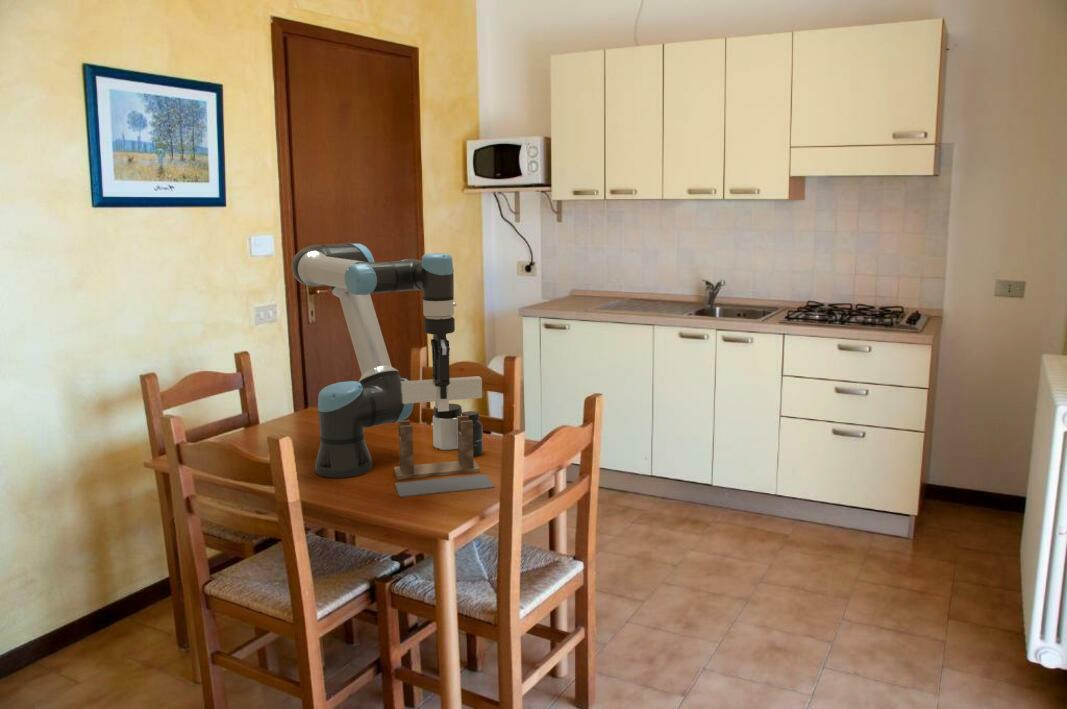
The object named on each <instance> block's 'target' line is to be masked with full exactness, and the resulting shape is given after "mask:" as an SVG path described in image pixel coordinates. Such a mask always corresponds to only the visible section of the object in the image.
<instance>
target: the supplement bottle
mask: <svg viewBox="0 0 1067 709" xmlns="http://www.w3.org/2000/svg"><path fill="white" fill-rule="evenodd" d="M462 416H469V420H472V421H473V457H476V456H477V455H478V456H480V454H481V453H482V454H483V452H484V446H483V445H484V440H483V437H484V435H483V434H484V432H483V431H484V430H483V424H482V422H481V421H479V420H480V412H478V411H475V410H474V411H472V410H470V411H464V412H462ZM482 454H481V455H482Z"/></svg>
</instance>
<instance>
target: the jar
mask: <svg viewBox="0 0 1067 709" xmlns="http://www.w3.org/2000/svg"><path fill="white" fill-rule="evenodd" d="M462 411H463V410H462V406H461V404H457V403H449V411H441V412H438V408H435V406H433V416H432V436H433V437H432V439H433V440H432V441H433V442H432V443H433V444H432V445H433V448H436V449H438V448H439V449H438V450H441V451H448V450H449V451H451V450H458V425H457V416H462V413H463V412H462Z"/></svg>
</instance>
